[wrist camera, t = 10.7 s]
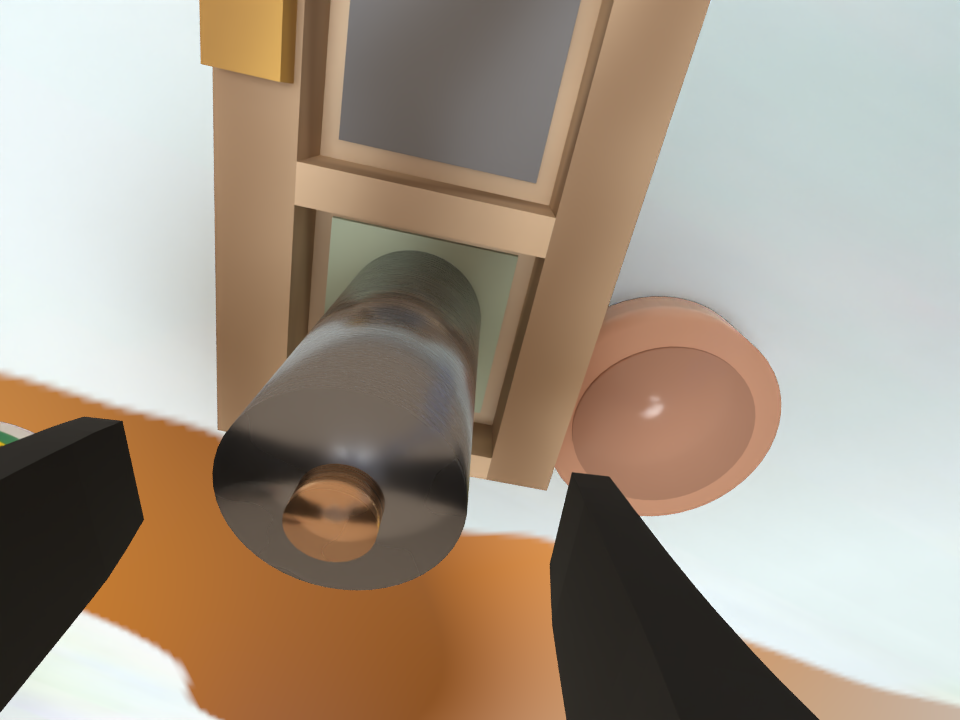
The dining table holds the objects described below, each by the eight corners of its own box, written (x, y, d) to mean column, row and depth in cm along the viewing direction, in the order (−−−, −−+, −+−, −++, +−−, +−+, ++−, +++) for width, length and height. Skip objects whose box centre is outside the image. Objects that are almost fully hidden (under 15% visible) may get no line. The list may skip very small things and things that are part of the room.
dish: (788, 321, 16) (827, 349, 15) (702, 492, 19) (725, 535, 18) (573, 275, 16) (583, 298, 14) (519, 458, 19) (522, 498, 17)
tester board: (702, -88, 12) (777, -157, 9) (539, 438, 19) (549, 508, 15) (270, -201, 12) (182, -322, 8) (256, 384, 18) (204, 446, 15)
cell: (488, 259, 15) (479, 428, 7) (473, 384, 16) (453, 631, 9) (345, 242, 15) (173, 394, 7) (345, 369, 16) (208, 607, 9)
